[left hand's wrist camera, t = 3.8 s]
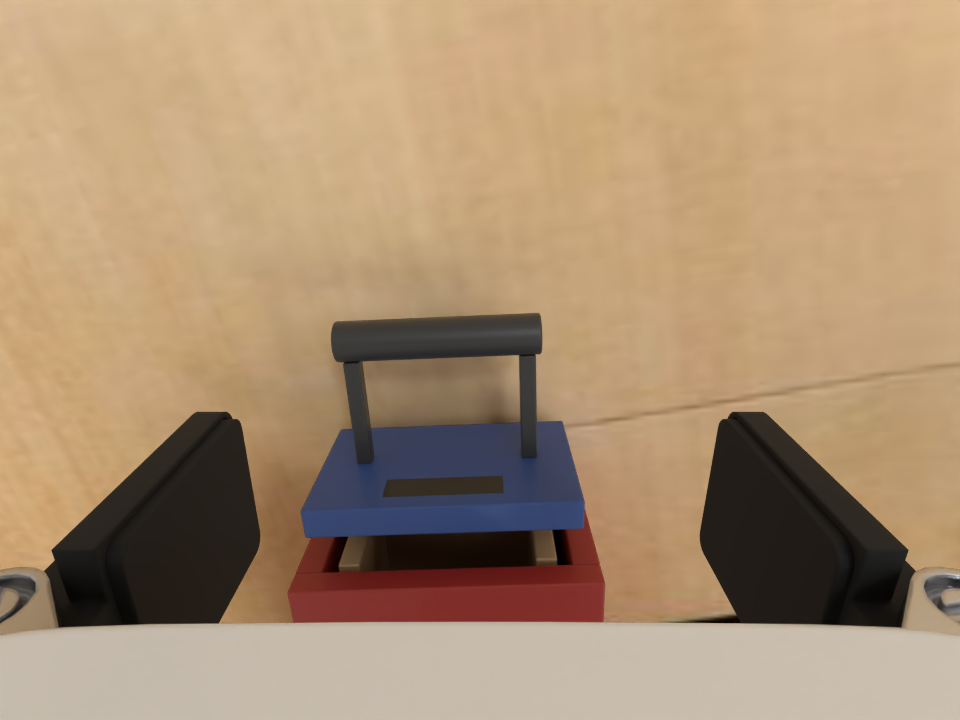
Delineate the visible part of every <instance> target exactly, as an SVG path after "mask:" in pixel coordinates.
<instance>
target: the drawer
mask: <svg viewBox="0 0 960 720" xmlns="http://www.w3.org/2000/svg"><path fill="white" fill-rule="evenodd" d="M331 346H332V352H333V356H334V358H335V360H336V361H337V362H344V364H343V366H344V373H345V380H346V387H347V394H348V401H349V408H350V415H351V422H352V429H342V430H341V431H340V433H339V435H338V437H337V439H336V441H335V443H334V445H333V447H332V449H331V451H330V453H329V455H328V457H327V459H326V461H325V463H324V465H323V467H322V469H321V471H320V473H319V475H318V477H317V479H316V481H315V483H314V485H313V487H312V489H311V491H310V493H309V495H308V497H307V499H306V501H305V503H304V505H303V507H302V509H301V516H302V521H303V527H304V532H305V537H306V538H319V537H348V540H347V543H346V546H345V549H344V551H343V554H342V557H341V560H340V563H339V572H363V571H395V570H427V569H458V568H490V567H522V566H554V565H557V555H556V549H555V543H554V537H553V532H552V530H561V529H583V528H584V509H585V501H584V498H583V494H582V491H581V487H580V483H579V480H578V476H577V472H576V469H575V465H574V462H573V458H572V454H571V451H570V447H569V444H568V440H567V436H566V433H565V429H564V425H563V422H562V421H550V422H537V416H536V355H535V354H541V352H542V323H541V316H540V314H539V313H527V314H503V315H480V316H456V317H432V318H409V319H385V320H361V321H337V322H335V323H334V324H333V327H332V332H331ZM506 355H519V379H520V423H497V424H470V425H443V426H417V427H390V428H371V425H370V418H369V410H368V402H367V395H366V387H365V380H364V372H363V364H362V361H382V360H407V359H432V358H456V357H481V356H506Z"/></svg>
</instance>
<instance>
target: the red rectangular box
mask: <svg viewBox="0 0 960 720" xmlns="http://www.w3.org/2000/svg"><path fill="white" fill-rule="evenodd" d="M552 532H553V537H554V543H555V549H556V555H557V565H554V566H522V567H490V568H458V569H427V570H395V571H363V572H339V563H340V560H341V557H342V554H343V551H344V549H345V546H346V543H347V540H348V537H319V538H311V540H310V542H309V544H308V546H307V549H306V551H305V553H304V556H303V558H302V560H301V562H300V565H299V567H298V569H297V572H296V575H295V577H294V579H293V581H292V584H291V586H290V588H289V590H288V598H289V603H290V607H291V612H292V617H293V621H294V623H331V622H603V618H604V595H605V582H604V578H603V574H602V571H601V567H600V563H599V559H598V555H597V552H596V548H595V544H594V541H593V537H592V533H591V530H590V526H589V522H588V519H587V515H586V511H585V509H584V528H583V529H561V530H552Z"/></svg>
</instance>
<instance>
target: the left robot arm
mask: <svg viewBox="0 0 960 720" xmlns="http://www.w3.org/2000/svg"><path fill="white" fill-rule="evenodd" d="M259 543H260V530H259V524H258V518H257V512H256V507H255V501H254V495H253V489H252V483H251V478H250V472H249V466H248V460H247V455H246V449H245V443H244V437H243V431H242V426H241V423H240V421H239V420H237V419H232V417H231V415H230V414H229V413H228V412H196V413H194V414H193V415H192V416H191V417H190V418H189V419H188V420H187V421H185V422H184V423H183V424H182V425H181V426H180V427H179V428H178V429H177V430H176V431H175V432H174V433H173V434H172V435H171V436H170V437H169V438H168V439H167V440H166V441H165V442H164V443H163V444H162V445H160V446H159V447H158V448H157V449H156V450H155V451H154V452H153V453H152V454H151V455H150V456H149V457H148V458H147V459H146V460H145V461H144V462H143V463H142V464H141V465H140V466H139V467H138V468H137V469H135V470H134V471H133V472H132V473H131V474H130V475H129V476H128V477H127V478H126V479H125V480H124V481H123V482H122V483H121V484H120V485H119V486H118V487H117V488H116V489H115V490H114V491H113V492H112V493H110V494H109V495H108V496H107V497H106V498H105V499H104V500H103V501H102V502H101V503H100V504H99V505H98V506H97V507H96V508H95V509H94V510H93V511H92V512H91V513H90V514H89V515H88V516H87V517H85V518H84V519H83V520H82V521H81V522H80V523H79V524H78V525H77V526H76V527H75V528H74V529H73V530H72V531H71V532H70V533H69V534H68V535H67V536H66V537H65V538H64V539H63V540H62V541H60V542H59V543H58V544H57V545H56V546H55V547H54V548H53V549H52V553H53V556H54V559H55V561H54V562H53V563H52V564H51V565H50V566H49V567H48V568H47V569H46V570H45V571H41V570H39V569H37V568H31V567H16V568H9V569H2V570H0V720H960V570H958V569H951V568H944V567H929V568H923V569H921V570H919V571H915V570H914V569H913V568H912V567H911V566H910V565H909V564H908V563H907V562H906V561H905V559H906V556H907V553H908V549H907V548H906V547H905V546H904V545H903V544H902V543H901V542H900V541H898V540H897V539H896V538H895V537H894V536H893V535H892V534H891V533H890V532H889V531H888V530H887V529H886V528H885V527H884V526H883V525H882V524H881V523H880V522H879V521H878V520H877V519H876V518H875V517H873V516H872V515H871V514H870V513H869V512H868V511H867V510H866V509H865V508H864V507H863V506H862V505H861V504H860V503H859V502H858V501H857V500H856V499H855V498H854V497H853V496H852V495H851V494H850V493H848V492H847V491H846V490H845V489H844V488H843V487H842V486H841V485H840V484H839V483H838V482H837V481H836V480H835V479H834V478H833V477H832V476H831V475H830V474H829V473H828V472H827V471H826V470H825V469H823V468H822V467H821V466H820V465H819V464H818V463H817V462H816V461H815V460H814V459H813V458H812V457H811V456H810V455H809V454H808V453H807V452H806V451H805V450H804V449H803V448H802V447H801V446H800V445H798V444H797V443H796V442H795V441H794V440H793V439H792V438H791V437H790V436H789V435H788V434H787V433H786V432H785V431H784V430H783V429H782V428H781V427H780V426H779V425H778V424H777V423H776V422H775V421H773V420H772V419H771V418H770V417H769V416H768V415H767V414H766V413H764V412H732V413H731V414H730V415H729V417H728V419H723V420H721V421H720V423H719V426H718V431H717V437H716V443H715V449H714V455H713V460H712V466H711V472H710V478H709V483H708V489H707V495H706V501H705V506H704V512H703V518H702V524H701V530H700V543H701V548H702V551H703V553H704V555H705V557H706V559H707V561H708V562H709V564H710V566H711V568H712V570H713V572H714V573H715V575H716V577H717V579H718V581H719V583H720V585H721V586H722V588H723V590H724V592H725V594H726V596H727V598H728V599H729V601H730V603H731V605H732V607H733V609H734V611H735V612H736V614H737V616H738V618H739V620H740V622H741V624H736V623H616V622H331V623H224V624H219V622H220V620H221V618H222V616H223V614H224V612H225V611H226V609H227V607H228V605H229V603H230V601H231V599H232V598H233V596H234V594H235V592H236V590H237V588H238V586H239V585H240V583H241V581H242V579H243V577H244V575H245V573H246V572H247V570H248V568H249V566H250V564H251V562H252V561H253V559H254V557H255V555H256V553H257V551H258V548H259Z"/></svg>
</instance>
